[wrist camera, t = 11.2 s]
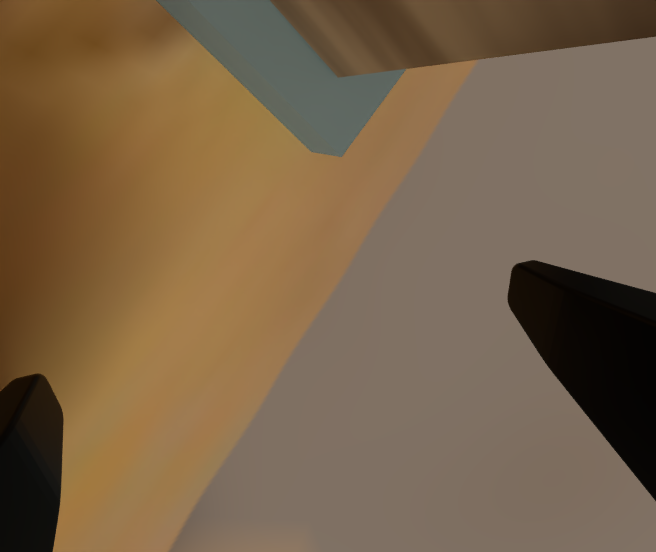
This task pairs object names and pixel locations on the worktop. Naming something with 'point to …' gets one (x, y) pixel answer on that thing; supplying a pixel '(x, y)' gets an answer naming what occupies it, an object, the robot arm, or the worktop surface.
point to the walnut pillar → (457, 29)
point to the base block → (284, 70)
